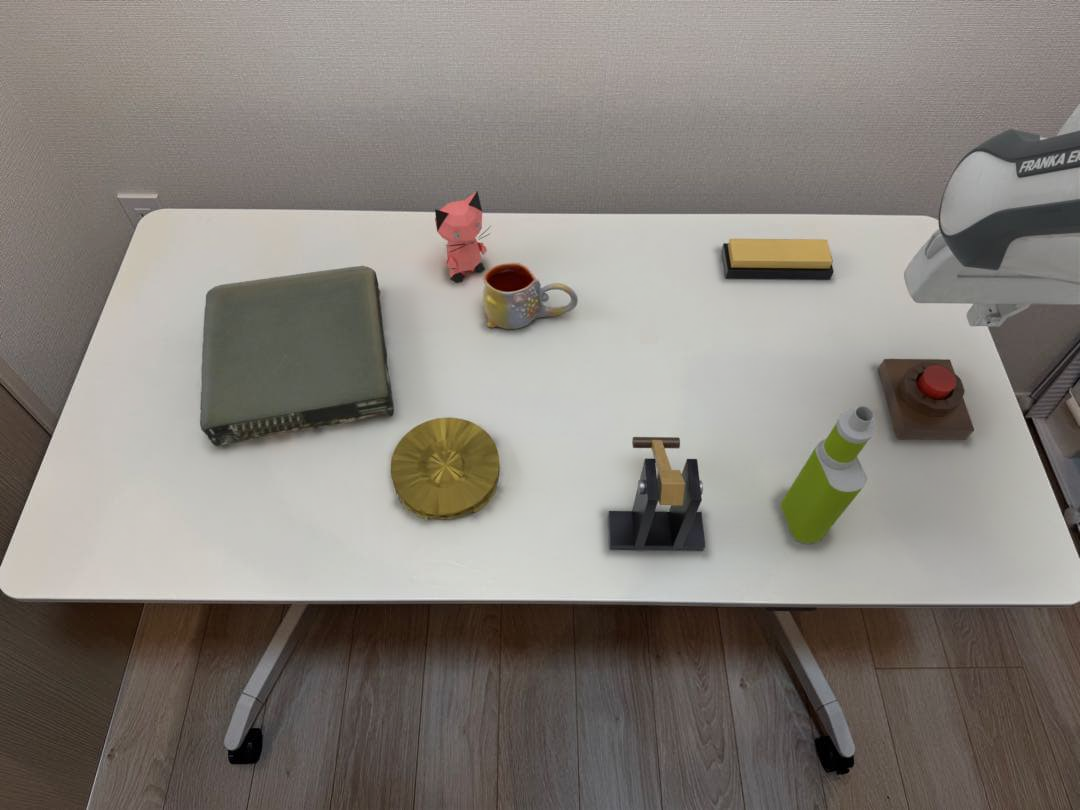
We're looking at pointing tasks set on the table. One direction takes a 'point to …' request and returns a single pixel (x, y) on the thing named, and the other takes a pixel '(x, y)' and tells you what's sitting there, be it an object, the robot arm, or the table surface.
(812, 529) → the vape
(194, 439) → the table surface
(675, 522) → the switch bracket
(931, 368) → the button
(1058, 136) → the robot arm
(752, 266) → the whetstone on a base
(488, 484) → the gold round metal disc
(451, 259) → the cat figurine
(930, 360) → the button block
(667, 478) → the switch lever
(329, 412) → the network switch
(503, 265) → the mug
